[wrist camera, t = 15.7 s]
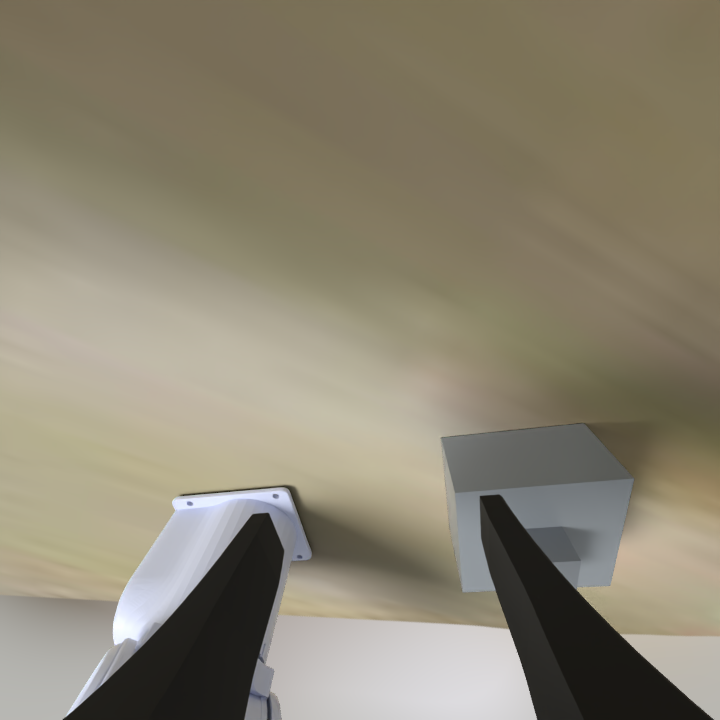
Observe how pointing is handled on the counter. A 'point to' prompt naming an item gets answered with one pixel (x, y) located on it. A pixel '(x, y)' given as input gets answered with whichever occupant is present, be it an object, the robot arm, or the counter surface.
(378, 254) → the counter surface
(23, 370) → the counter surface
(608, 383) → the counter surface
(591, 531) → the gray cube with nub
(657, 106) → the counter surface
